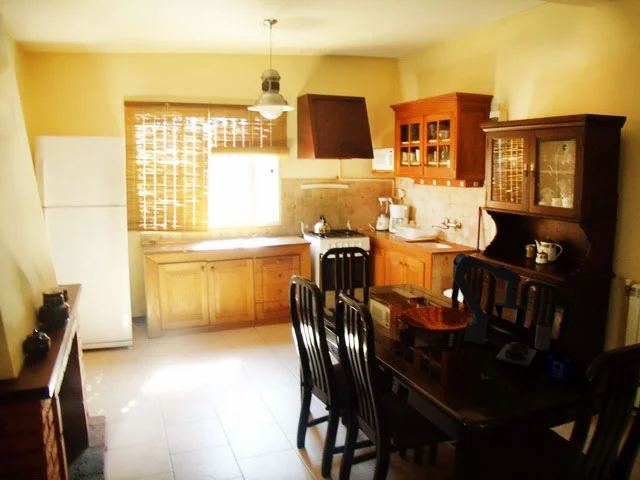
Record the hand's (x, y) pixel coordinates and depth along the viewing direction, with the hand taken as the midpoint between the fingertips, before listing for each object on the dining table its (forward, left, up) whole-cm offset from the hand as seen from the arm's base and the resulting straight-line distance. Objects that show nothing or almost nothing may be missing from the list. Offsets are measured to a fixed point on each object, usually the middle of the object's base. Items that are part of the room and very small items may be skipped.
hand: (508, 323), depth 257 cm
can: (+16, 0, -10) cm, 19 cm away
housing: (+8, -16, -9) cm, 20 cm away
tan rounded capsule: (+8, -21, -8) cm, 24 cm away
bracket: (+27, -26, -10) cm, 39 cm away
